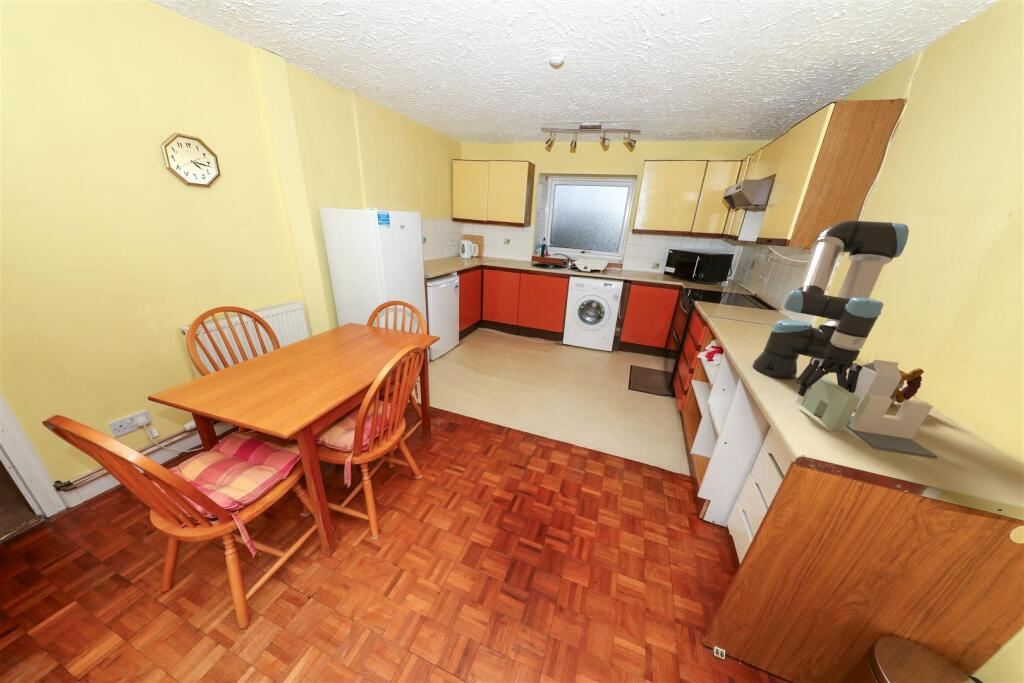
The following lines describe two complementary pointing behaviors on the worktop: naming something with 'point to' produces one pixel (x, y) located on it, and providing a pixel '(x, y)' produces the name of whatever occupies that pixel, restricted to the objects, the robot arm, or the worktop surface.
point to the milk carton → (877, 380)
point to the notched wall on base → (890, 425)
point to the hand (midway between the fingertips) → (815, 405)
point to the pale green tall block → (831, 403)
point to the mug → (911, 388)
